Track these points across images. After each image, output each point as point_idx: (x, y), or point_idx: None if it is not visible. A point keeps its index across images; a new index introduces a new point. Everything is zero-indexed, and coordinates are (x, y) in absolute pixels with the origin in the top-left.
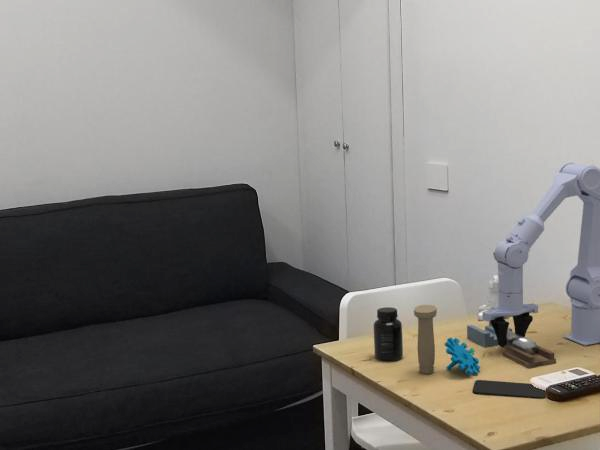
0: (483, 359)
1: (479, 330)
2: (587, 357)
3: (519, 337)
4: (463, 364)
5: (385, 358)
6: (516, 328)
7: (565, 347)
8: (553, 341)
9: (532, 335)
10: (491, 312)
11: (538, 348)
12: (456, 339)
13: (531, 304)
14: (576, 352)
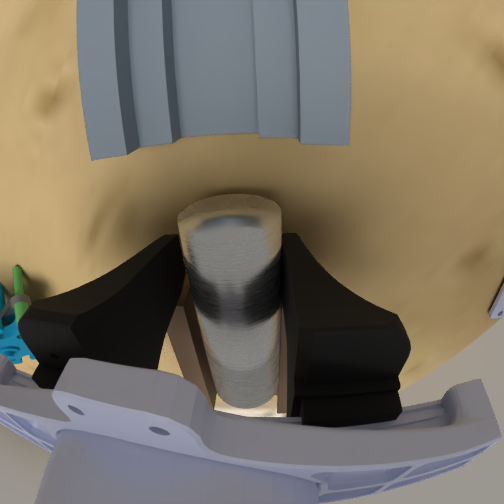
0: (84, 269)
1: (88, 73)
2: (407, 376)
3: (225, 366)
4: (17, 359)
5: None
6: (289, 295)
7: (449, 299)
8: (481, 226)
9: (483, 103)
10: (16, 424)
11: (279, 381)
12: None
13: (479, 442)
14: (426, 344)
